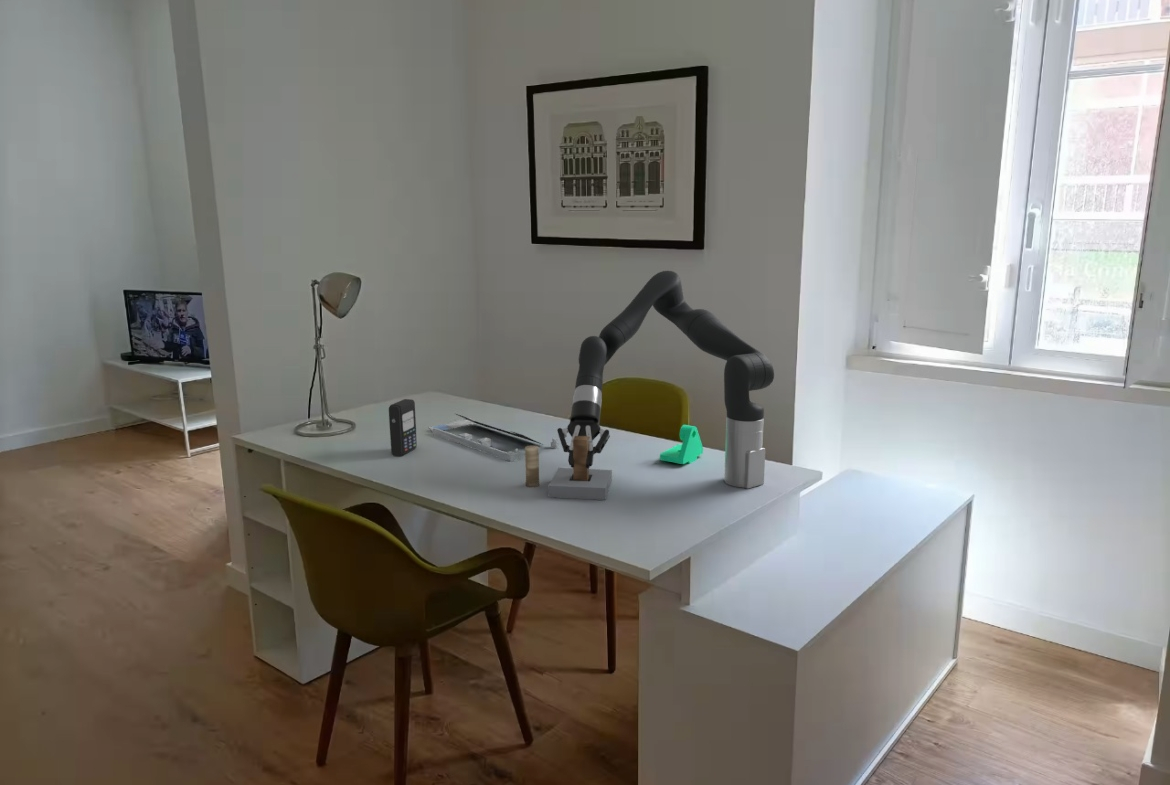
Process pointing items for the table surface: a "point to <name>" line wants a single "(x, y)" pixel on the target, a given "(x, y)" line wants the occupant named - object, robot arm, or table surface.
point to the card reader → (402, 427)
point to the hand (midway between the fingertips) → (579, 466)
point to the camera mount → (685, 447)
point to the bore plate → (580, 484)
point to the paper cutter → (481, 443)
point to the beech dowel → (532, 465)
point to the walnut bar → (580, 458)
